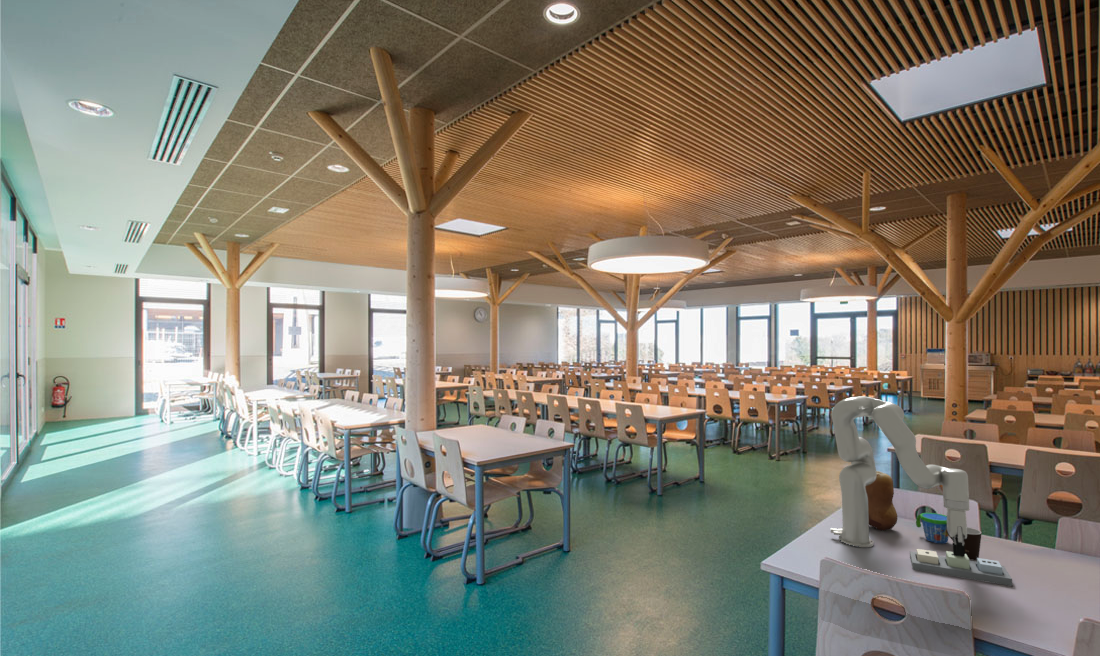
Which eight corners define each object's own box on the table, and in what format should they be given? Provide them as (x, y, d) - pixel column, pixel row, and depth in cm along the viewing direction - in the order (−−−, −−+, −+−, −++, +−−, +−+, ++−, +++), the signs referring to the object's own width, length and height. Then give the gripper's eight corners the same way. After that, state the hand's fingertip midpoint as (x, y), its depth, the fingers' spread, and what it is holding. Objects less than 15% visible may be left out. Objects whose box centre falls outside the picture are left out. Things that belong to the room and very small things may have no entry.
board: (912, 569, 194) (912, 562, 194) (909, 557, 204) (909, 551, 204) (1012, 586, 180) (1012, 578, 180) (1003, 572, 190) (1003, 565, 190)
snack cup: (909, 535, 227) (908, 511, 227) (929, 533, 229) (928, 509, 229) (943, 549, 211) (942, 523, 212) (965, 546, 214) (964, 521, 214)
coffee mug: (987, 561, 199) (986, 535, 200) (961, 560, 201) (960, 533, 201) (969, 549, 211) (969, 524, 211) (945, 548, 212) (944, 523, 213)
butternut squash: (900, 528, 235) (899, 471, 236) (894, 536, 226) (892, 477, 226) (865, 521, 245) (864, 466, 246) (857, 528, 235) (856, 472, 236)
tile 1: (918, 565, 195) (918, 553, 195) (916, 559, 200) (916, 548, 201) (938, 568, 192) (938, 556, 192) (936, 562, 197) (936, 551, 198)
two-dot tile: (948, 567, 191) (948, 556, 191) (946, 561, 196) (945, 550, 196) (969, 571, 188) (969, 559, 188) (966, 565, 193) (966, 553, 193)
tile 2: (980, 575, 186) (980, 563, 186) (977, 568, 191) (976, 557, 192) (1002, 579, 183) (1002, 566, 183) (998, 572, 188) (998, 560, 189)
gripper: (940, 497, 201) (943, 546, 200) (946, 508, 188) (949, 560, 187) (965, 499, 197) (968, 549, 196) (973, 511, 184) (976, 564, 183)
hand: (958, 555), depth 192 cm, fingers closed
